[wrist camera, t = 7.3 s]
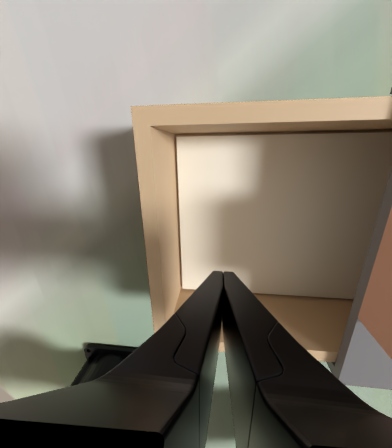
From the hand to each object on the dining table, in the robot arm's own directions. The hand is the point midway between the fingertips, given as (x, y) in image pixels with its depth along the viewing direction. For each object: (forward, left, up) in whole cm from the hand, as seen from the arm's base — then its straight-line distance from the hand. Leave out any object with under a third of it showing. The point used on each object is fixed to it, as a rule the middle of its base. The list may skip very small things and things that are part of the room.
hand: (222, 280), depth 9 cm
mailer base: (+6, 0, -8) cm, 10 cm away
